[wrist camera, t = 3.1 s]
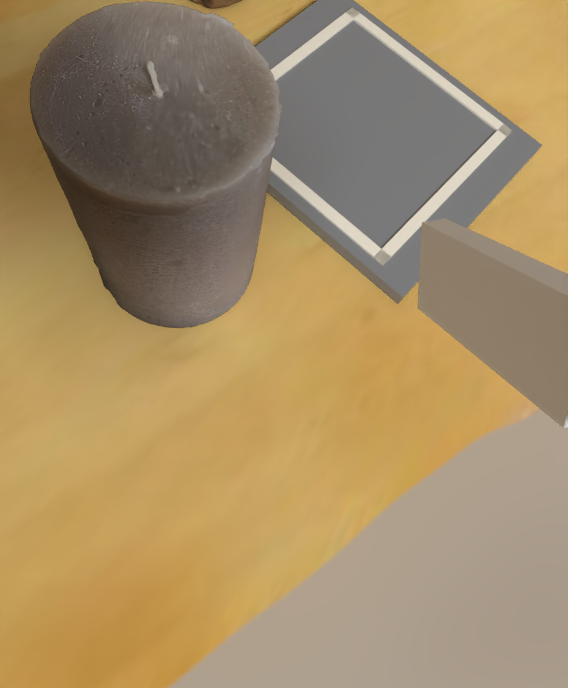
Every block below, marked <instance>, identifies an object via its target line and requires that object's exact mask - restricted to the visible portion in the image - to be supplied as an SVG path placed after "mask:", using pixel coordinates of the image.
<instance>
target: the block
mask: <svg viewBox="0 0 568 688" xmlns="http://www.w3.org/2000/svg"><path fill="white" fill-rule="evenodd" d="M192 1H194V2H195V3H202V4H204V5H205V6H207V7H210V8H217V7H225V6H229V5H231V4H233V3H236V2H239V1H242V0H192Z"/></svg>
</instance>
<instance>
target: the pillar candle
mask: <svg viewBox="0 0 568 688" xmlns="http://www.w3.org/2000/svg"><path fill="white" fill-rule="evenodd" d="M233 25H234V24H233V23H230V22H229V21H228V20H227V19H226V18H223V17H221V16H219V15H216V14H212V13H209V14H205V13H202V12H200V11H198V10H195V9H190V8H188V7H185V6H178V5H175V4H168V3H159V2H135V3H125V4H114V5H109V6H106V7H103V8H102V9H99V10H97V11H94V12H91V13H89V14H87V15H85V16H82V17H81V18H79V19H78V20H76V21H75V22H74V23H72V24H71V25H69V26H68V27H66V28H65V29H64V30H63V31H61V33H60V34H58V35H57V36H56V37H55V38H53V39H52V40H51V42H50V43H49V45H48V47H47V48H46V49H45V50H44V51H43V52H42V53H41V54H40V59H39V61H38V63H37V64H36V68H35V71H34V74H33V77H32V81H31V88H30V106H31V113H32V119H33V123H34V125H35V128H36V130H37V133H38V136H39V138H40V140H41V142H42V145H43V147H44V149H45V151H46V153H47V155H48V158H49V160H50V162H51V165H52V167H53V169H54V172H55V174H56V177H57V179H58V181H59V183H60V185H61V187H62V189H63V191H64V193H65V195H66V198H67V200H68V202H69V204H70V207H71V209H72V211H73V214H74V217H75V219H76V222H77V224H78V226H79V228H80V230H81V231H82V233H83V235H84V237H85V239H86V241H87V244H88V246H89V249H90V250H91V253H92V256H93V259H94V262H95V264H96V266H97V267H98V268H99V272H100V276H101V278H102V281H103V284H104V286H105V288H106V289H108V290H109V291H110V292H111V294H112V295H113V297H114V298H115V300H116V301H117V304H118V305H119V306H120V307H121V308H122V309H124V310H125V311H127V312H128V313H129V314H131V315H133V316H134V317H136V318H138V319H140V320H142V321H144V322H147V323H150V324H154V325H158V326H163V327H170V328H184V327H193V326H197V325H200V324H204V323H207V322H209V321H211V320H213V319H215V318H217V317H219V316H221V315H222V314H224V313H225V312H227V311H228V310H229V309H230V308H231V307H233V306H234V305H235V304H236V303H237V302H238V300H239V299H240V298H241V296H242V295H243V294H244V292H245V291H246V288H247V286H248V284H249V282H250V279H251V276H252V271H253V267H254V262H255V257H256V252H257V246H258V240H259V235H260V230H261V224H262V218H263V211H264V205H265V199H266V192H267V187H268V181H269V175H270V169H271V164H272V158H273V152H274V147H275V141H276V136H277V135H278V132H277V131H278V127H279V120H280V114H281V112H282V106H283V105H281V104H280V103H279V95H280V91H279V85H278V84H277V83H276V81H275V79H274V76H273V74H272V72H271V70H270V69H269V63H268V62H267V61H266V60H265V59H264V57H263V56H262V55H261V54H260V52H259V51H258V50H257V49H256V48H255V47H254V45H253V44H252V43H251V42H250V40H248V39H247V38H245V37H244V36H243V35H242V34H241V33H240V32H239V31H237V30H236V29H234V28H233Z"/></svg>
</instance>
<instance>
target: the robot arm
mask: <svg viewBox="0 0 568 688" xmlns="http://www.w3.org/2000/svg"><path fill="white" fill-rule="evenodd" d="M418 309H419V310H421V311H422V312H423V313H424V314H426V315H427V316H428V317H429V318H430V319H432V320H433V321H434V322H435V323H436V324H438V325H439V326H440V327H441V328H443V329H444V330H445V331H446V332H447V333H449V334H450V335H451V336H452V337H454V338H455V339H456V340H457V341H458V342H460V343H461V344H462V345H463V346H464V347H466V348H467V349H468V350H469V351H471V352H472V353H473V354H474V355H475V356H477V357H478V358H479V359H480V360H482V361H483V362H484V363H485V364H486V365H488V366H489V367H490V368H491V369H492V370H494V371H495V372H496V373H497V374H499V375H500V376H501V377H502V378H503V379H505V380H506V381H507V382H508V383H509V384H511V385H512V386H513V387H514V388H516V389H517V390H518V391H519V392H520V393H522V394H523V395H524V396H525V397H527V398H528V399H529V400H530V401H531V402H533V403H534V404H535V405H536V406H537V407H539V408H540V409H541V410H542V411H544V412H545V413H546V414H547V415H548V416H550V417H551V418H552V419H554V420H555V421H556V422H557V423H558V424H559V425H561V426H562V427H563V428H566V427H568V274H566V273H564V272H562V271H560V270H557V269H555V268H553V267H551V266H549V265H546V264H544V263H542V262H540V261H538V260H535V259H533V258H531V257H529V256H527V255H524V254H522V253H520V252H518V251H516V250H513V249H511V248H509V247H507V246H505V245H503V244H500V243H498V242H496V241H494V240H492V239H489V238H487V237H485V236H483V235H481V234H478V233H476V232H474V231H472V230H470V229H467V228H465V227H463V226H461V225H459V224H456V223H454V222H452V221H450V220H448V219H440V220H433V221H426V222H422V230H421V250H420V271H419V291H418Z"/></svg>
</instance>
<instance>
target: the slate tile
mask: <svg viewBox="0 0 568 688" xmlns="http://www.w3.org/2000/svg"><path fill="white" fill-rule="evenodd" d="M255 48H256V49H257V50H258V51H259V52H260V54H261V55H262V56H263V57H264V59H265V60H266V61H267V62H268V63H269V69H270V70H271V72H272V74H273V76H274V79H275V81H276V83H277V84H278V85H279V91H280V95H279V103H280V104H281V105H283V106H282V112H281V114H280V120H279V127H278V131H277V132H278V135H277V136H276V141H275V147H274V152H273V158H272V164H271V169H270V175H269V181H268V187H267V192H268V193H269V194H270V195H271V196H272V197H273V198H275V199H276V200H277V201H278V202H279V203H280V204H282V205H283V206H284V207H285V208H286V209H288V210H289V211H290V212H291V213H292V214H293V215H295V216H296V217H297V218H298V219H299V220H300V221H302V222H303V223H304V224H305V225H306V226H307V227H309V228H310V229H311V230H312V231H313V232H314V233H316V234H317V235H318V236H319V237H320V238H321V239H323V240H324V241H325V242H326V243H327V244H328V245H330V246H331V247H332V248H333V249H334V250H335V251H337V252H338V253H339V254H340V255H341V256H343V257H344V258H345V259H346V260H347V261H348V262H350V263H351V264H352V265H353V266H354V267H355V268H357V269H358V270H359V271H360V272H361V273H362V274H364V275H365V276H366V277H367V278H368V279H369V280H371V281H372V282H373V283H374V284H375V285H376V286H378V287H379V288H380V289H381V290H382V291H383V292H385V293H386V294H387V295H388V296H389V297H390V298H392V299H393V300H394V301H395V302H396V303H399V302H400V301H401V300H402V299H403V298H404V297H405V295H406V294H407V293H408V292H409V291H410V290H411V289H412V288H413V287H414V286H415V285H416V283H417V282H418V281H419V271H420V250H421V230H422V222H426V221H433V220H440V219H448V220H450V221H452V222H454V223H456V224H459V225H461V226H463V227H465V228H468V226H469V225H470V224H471V223H472V222H473V221H474V220H475V219H476V218H477V217H478V216H479V214H480V213H481V212H482V211H483V210H484V209H485V208H486V207H487V206H488V205H489V204H490V202H491V201H492V200H493V199H494V198H495V197H496V196H497V195H498V194H499V193H500V191H501V190H502V189H503V188H504V187H505V186H506V185H507V184H508V183H509V182H510V181H511V179H512V178H513V177H514V176H515V175H516V174H517V173H518V172H519V171H520V170H521V168H522V167H523V166H524V165H525V164H526V163H527V162H528V161H529V160H530V159H531V158H532V156H533V155H534V154H535V153H536V152H537V151H538V150H539V148H540V147H541V146H542V145H541V144H540V143H539V142H537V141H536V140H535V139H533V138H532V137H531V136H530V135H528V134H527V133H526V132H524V131H523V130H522V129H520V128H519V127H518V126H517V125H515V124H514V123H513V122H511V121H510V120H509V119H507V118H506V117H505V116H503V115H502V114H501V113H500V112H498V111H497V110H496V109H494V108H493V107H492V106H490V105H489V104H488V103H487V102H485V101H484V100H483V99H481V98H480V97H479V96H477V95H476V94H475V93H474V92H472V91H471V90H470V89H468V88H467V87H466V86H464V85H463V84H462V83H461V82H459V81H458V80H457V79H455V78H454V77H453V76H451V75H450V74H449V73H448V72H446V71H445V70H444V69H442V68H441V67H440V66H438V65H437V64H436V63H434V62H433V61H432V60H431V59H429V58H428V57H427V56H425V55H424V54H423V53H421V52H420V51H419V50H418V49H416V48H415V47H414V46H412V45H411V44H410V43H408V42H407V41H406V40H405V39H403V38H402V37H401V36H399V35H398V34H397V33H395V32H394V31H393V30H392V29H390V28H389V27H388V26H386V25H385V24H384V23H382V22H381V21H380V20H379V19H377V18H376V17H375V16H373V15H372V14H371V13H369V12H368V11H367V10H365V9H364V8H363V7H362V6H360V5H359V4H358V3H356V2H355V1H354V0H318V1H316V2H315V3H313V4H312V5H311V6H309V7H308V8H307V9H305V10H304V11H303V12H301V13H300V14H299V15H297V16H296V17H294V18H293V19H292V20H290V21H289V22H288V23H286V24H285V25H284V26H282V27H281V28H280V29H278V30H277V31H276V32H274V33H273V34H271V35H270V36H269V37H267V38H266V39H265V40H263V41H262V42H261V43H259V44H258V45H257V46H255Z"/></svg>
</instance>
